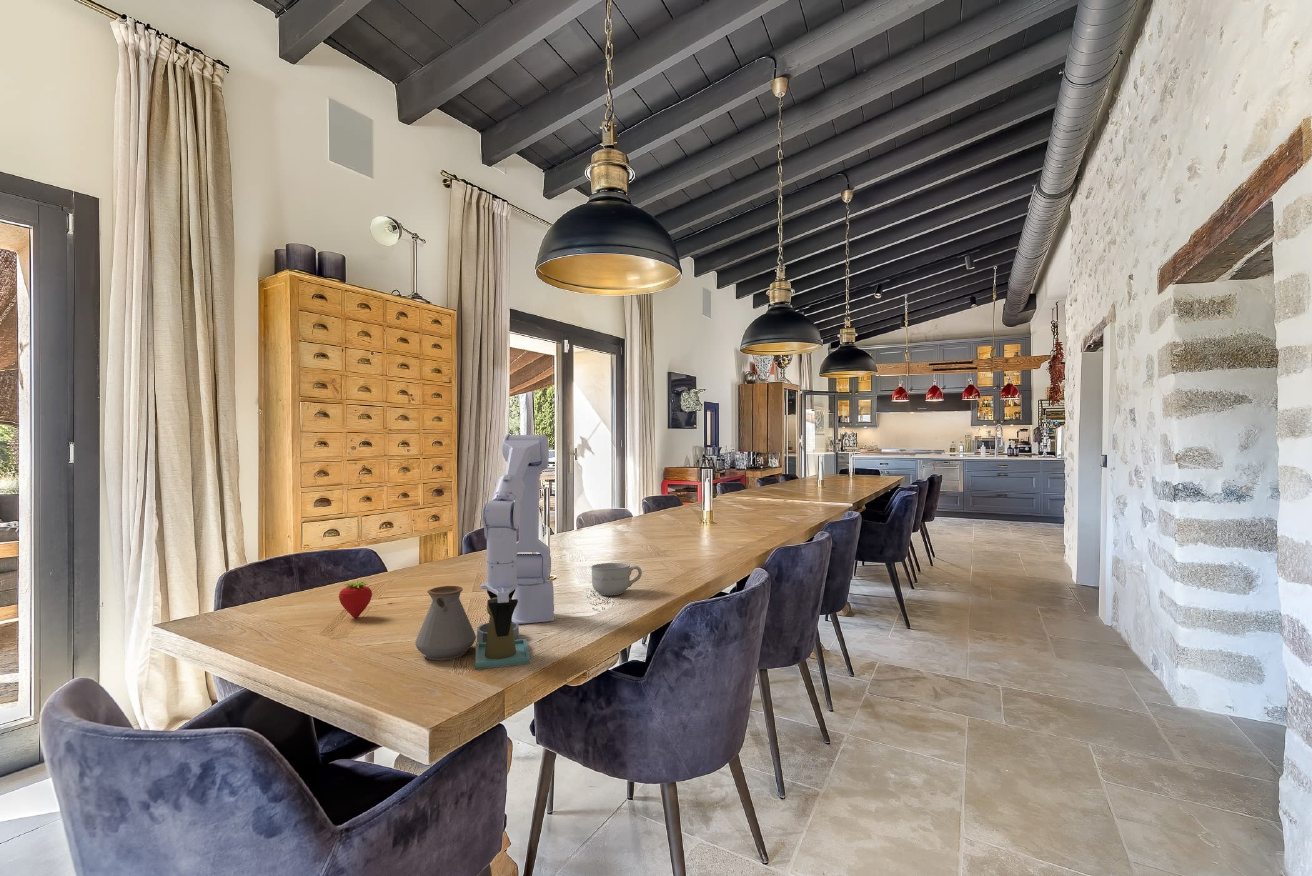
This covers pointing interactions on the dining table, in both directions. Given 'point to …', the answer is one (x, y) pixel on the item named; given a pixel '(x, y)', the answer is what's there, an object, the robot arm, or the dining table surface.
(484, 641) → the ring
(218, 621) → the dining table surface
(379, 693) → the dining table surface
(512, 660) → the tray
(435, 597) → the coffee pot
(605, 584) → the teacup
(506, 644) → the cork
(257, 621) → the dining table surface
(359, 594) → the strawberry
